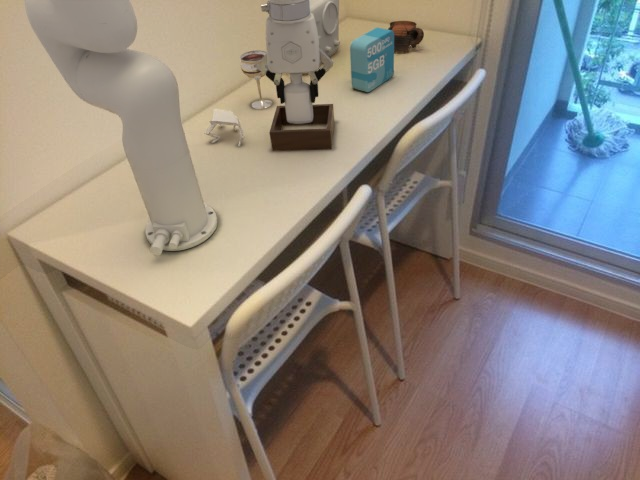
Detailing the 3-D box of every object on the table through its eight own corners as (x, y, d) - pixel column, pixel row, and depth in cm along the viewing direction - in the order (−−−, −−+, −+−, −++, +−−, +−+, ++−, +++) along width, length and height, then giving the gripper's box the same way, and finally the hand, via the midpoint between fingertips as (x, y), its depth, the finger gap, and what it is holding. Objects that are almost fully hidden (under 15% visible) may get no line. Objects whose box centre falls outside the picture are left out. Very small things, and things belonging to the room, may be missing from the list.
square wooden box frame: (331, 149, 111) (330, 130, 108) (272, 151, 112) (269, 132, 109) (334, 122, 120) (333, 103, 117) (279, 124, 121) (276, 105, 118)
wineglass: (278, 107, 127) (271, 58, 119) (250, 113, 126) (242, 64, 118) (272, 95, 132) (265, 47, 124) (245, 101, 131) (236, 53, 123)
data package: (366, 94, 129) (365, 45, 121) (351, 90, 131) (349, 41, 123) (394, 76, 135) (394, 28, 127) (379, 72, 138) (379, 25, 130)
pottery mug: (378, 52, 148) (380, 21, 147) (397, 57, 155) (400, 27, 154) (414, 49, 140) (416, 16, 139) (433, 54, 147) (436, 23, 146)
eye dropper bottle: (304, 127, 110) (299, 71, 102) (283, 121, 113) (277, 66, 105) (317, 119, 113) (312, 63, 105) (295, 113, 115) (290, 59, 108)
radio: (308, 80, 137) (297, -24, 121) (281, 75, 141) (268, -27, 125) (347, 48, 151) (343, -49, 135) (322, 45, 155) (315, -50, 138)
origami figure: (196, 140, 118) (191, 120, 115) (222, 123, 123) (218, 104, 120) (237, 153, 113) (232, 133, 109) (262, 135, 117) (258, 115, 114)
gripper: (240, 17, 96) (254, 109, 108) (334, 13, 95) (339, 107, 106) (247, 5, 102) (260, 93, 114) (337, 1, 100) (340, 91, 112)
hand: (298, 99), depth 110 cm, fingers closed on eye dropper bottle, 5 cm apart
